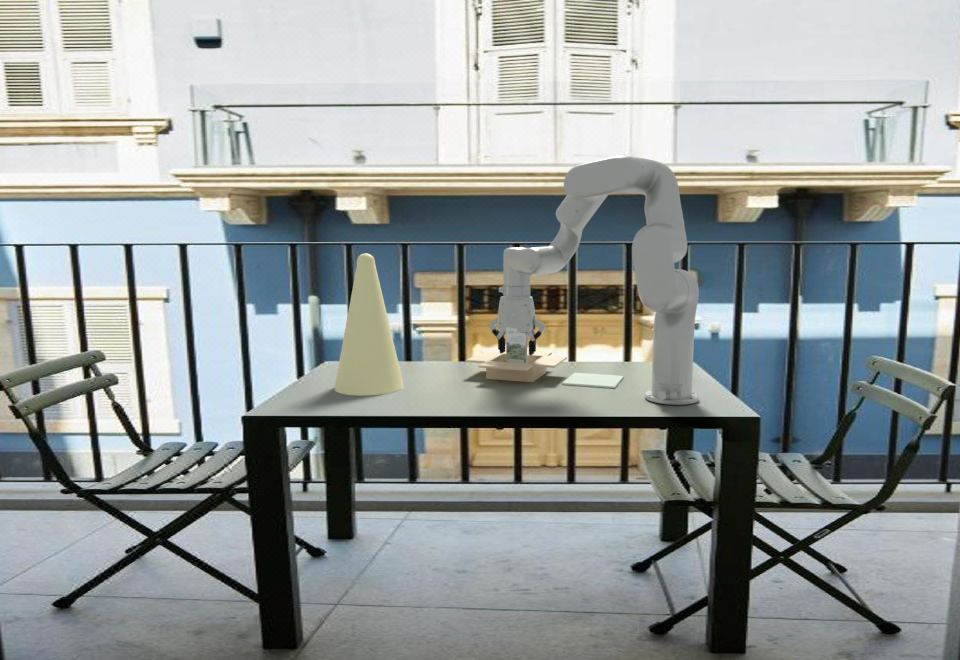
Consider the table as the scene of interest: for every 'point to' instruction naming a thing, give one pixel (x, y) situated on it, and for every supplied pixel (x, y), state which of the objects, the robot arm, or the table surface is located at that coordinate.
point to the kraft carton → (516, 365)
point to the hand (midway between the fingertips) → (516, 353)
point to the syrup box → (516, 346)
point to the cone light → (367, 339)
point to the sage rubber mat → (593, 380)
